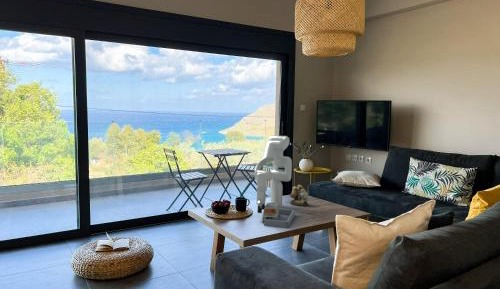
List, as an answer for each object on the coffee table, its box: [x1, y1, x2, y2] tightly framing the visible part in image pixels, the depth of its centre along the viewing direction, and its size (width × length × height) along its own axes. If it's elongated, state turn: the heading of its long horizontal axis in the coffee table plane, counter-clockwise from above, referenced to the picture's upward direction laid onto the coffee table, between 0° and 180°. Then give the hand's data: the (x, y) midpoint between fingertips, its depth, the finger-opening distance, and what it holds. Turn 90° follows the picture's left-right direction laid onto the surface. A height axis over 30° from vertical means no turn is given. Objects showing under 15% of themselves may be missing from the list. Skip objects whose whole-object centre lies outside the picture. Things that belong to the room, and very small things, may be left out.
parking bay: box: [263, 208, 296, 229], centre depth 273 cm, size 32×17×4 cm, turn 165°
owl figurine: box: [288, 184, 309, 207], centre depth 318 cm, size 18×12×17 cm, turn 55°
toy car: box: [261, 202, 280, 224], centre depth 275 cm, size 11×25×10 cm, turn 170°
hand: (261, 211), depth 277 cm, fingers open, 9 cm apart
